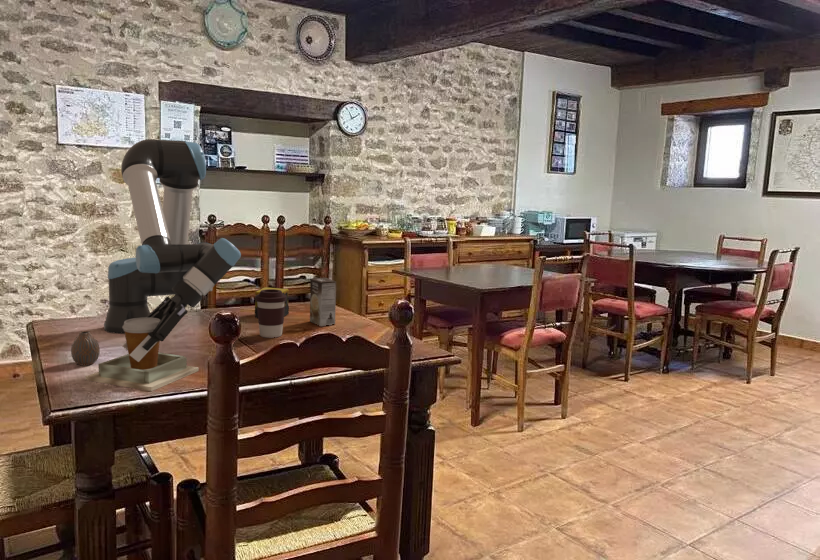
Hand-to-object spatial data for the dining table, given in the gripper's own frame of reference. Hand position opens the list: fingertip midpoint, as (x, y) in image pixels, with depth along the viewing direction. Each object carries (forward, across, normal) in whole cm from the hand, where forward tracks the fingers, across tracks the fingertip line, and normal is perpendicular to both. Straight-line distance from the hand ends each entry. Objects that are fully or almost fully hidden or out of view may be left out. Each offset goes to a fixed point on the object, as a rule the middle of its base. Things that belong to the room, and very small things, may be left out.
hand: (130, 353), depth 162 cm
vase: (+10, +18, +1) cm, 21 cm away
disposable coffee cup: (+1, 0, -5) cm, 5 cm away
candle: (-38, +53, -47) cm, 80 cm away
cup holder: (+2, 0, -7) cm, 7 cm away
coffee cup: (-29, +25, -39) cm, 55 cm away
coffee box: (-46, +34, -55) cm, 79 cm away
